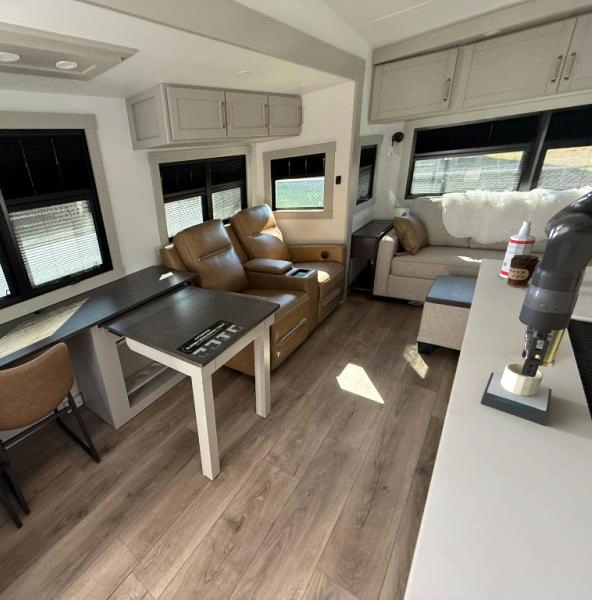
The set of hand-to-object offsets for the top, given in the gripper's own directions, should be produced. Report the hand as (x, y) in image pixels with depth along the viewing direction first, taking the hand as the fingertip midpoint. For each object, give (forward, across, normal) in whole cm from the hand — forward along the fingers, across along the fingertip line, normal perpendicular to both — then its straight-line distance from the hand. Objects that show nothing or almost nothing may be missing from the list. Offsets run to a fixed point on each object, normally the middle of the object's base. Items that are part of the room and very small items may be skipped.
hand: (527, 366), depth 75 cm
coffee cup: (+10, +88, +1) cm, 88 cm away
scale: (+10, 0, 0) cm, 10 cm away
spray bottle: (+10, +100, +3) cm, 101 cm away
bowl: (+7, 0, 0) cm, 7 cm away
